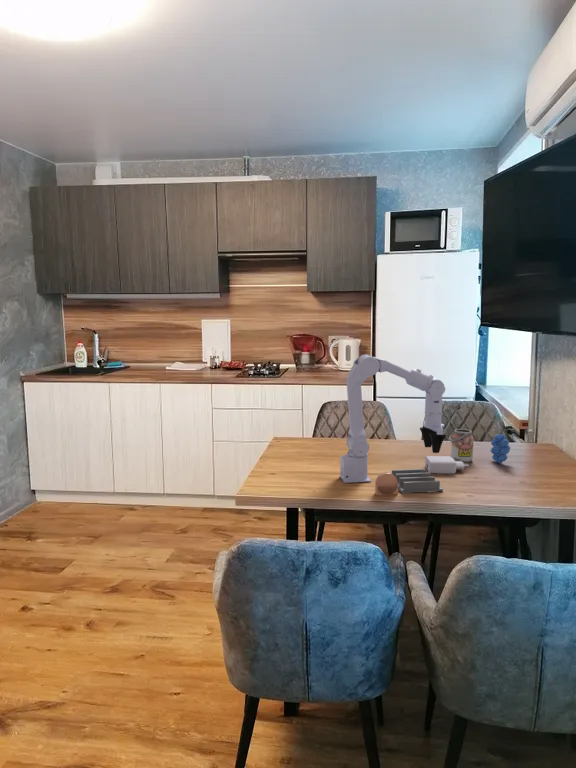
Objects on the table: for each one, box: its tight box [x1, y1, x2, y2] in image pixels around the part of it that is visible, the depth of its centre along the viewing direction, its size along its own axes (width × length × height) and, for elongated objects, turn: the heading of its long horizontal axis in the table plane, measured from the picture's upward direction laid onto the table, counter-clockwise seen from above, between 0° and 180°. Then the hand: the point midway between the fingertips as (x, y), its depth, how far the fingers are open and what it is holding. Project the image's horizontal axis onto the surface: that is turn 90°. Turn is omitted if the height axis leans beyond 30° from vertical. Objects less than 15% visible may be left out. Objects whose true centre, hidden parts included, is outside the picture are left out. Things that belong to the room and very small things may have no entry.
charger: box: [424, 455, 470, 475], centre depth 204 cm, size 5×9×15 cm
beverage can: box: [448, 428, 475, 464], centre depth 217 cm, size 9×8×12 cm
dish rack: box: [391, 468, 444, 494], centre depth 188 cm, size 14×15×4 cm
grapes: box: [490, 433, 511, 465], centre depth 212 cm, size 12×7×12 cm, turn 6°
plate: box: [374, 471, 399, 496], centre depth 180 cm, size 7×2×7 cm, turn 96°
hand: (431, 449), depth 196 cm, fingers open, 7 cm apart
